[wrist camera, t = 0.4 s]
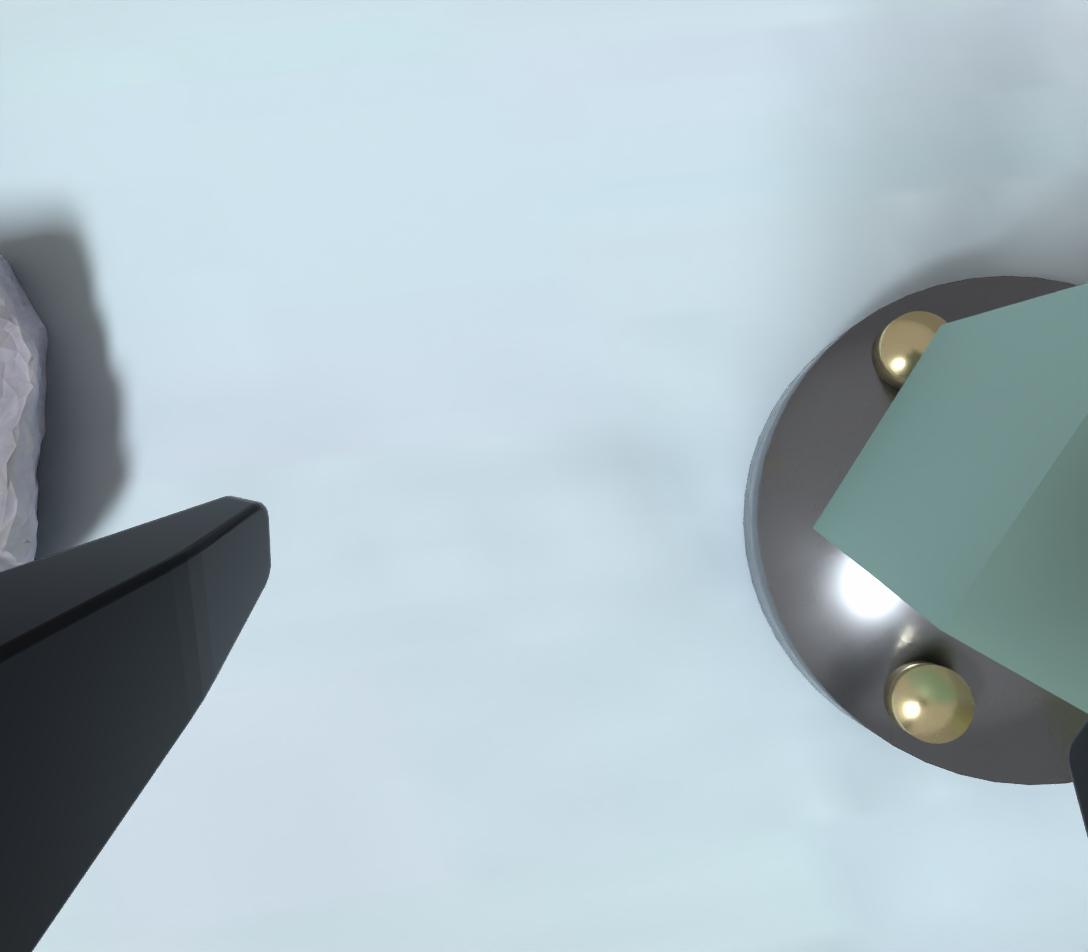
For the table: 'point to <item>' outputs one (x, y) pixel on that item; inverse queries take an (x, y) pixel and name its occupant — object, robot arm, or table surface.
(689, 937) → the table surface
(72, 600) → the robot arm
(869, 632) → the dark grey disc
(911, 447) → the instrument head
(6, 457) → the stone block
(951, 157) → the table surface
